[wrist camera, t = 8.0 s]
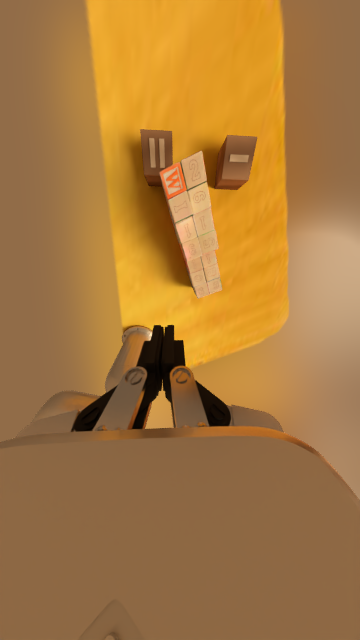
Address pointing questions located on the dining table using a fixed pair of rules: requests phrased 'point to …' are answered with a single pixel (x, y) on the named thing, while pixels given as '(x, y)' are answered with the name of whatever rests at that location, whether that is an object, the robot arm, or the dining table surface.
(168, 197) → the stack of blocks
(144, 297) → the dining table surface
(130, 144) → the dining table surface
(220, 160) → the walnut cube one
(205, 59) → the dining table surface
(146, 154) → the walnut cube two
